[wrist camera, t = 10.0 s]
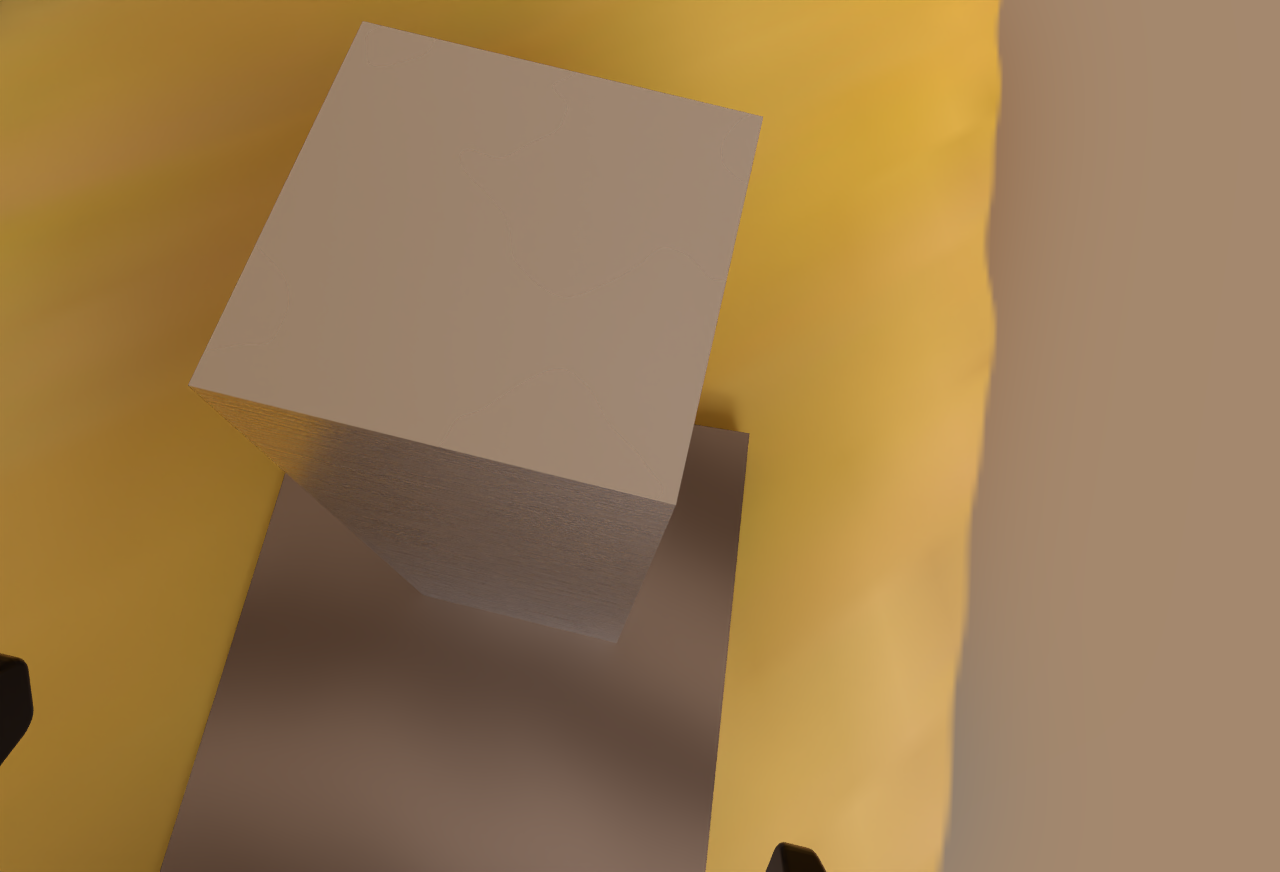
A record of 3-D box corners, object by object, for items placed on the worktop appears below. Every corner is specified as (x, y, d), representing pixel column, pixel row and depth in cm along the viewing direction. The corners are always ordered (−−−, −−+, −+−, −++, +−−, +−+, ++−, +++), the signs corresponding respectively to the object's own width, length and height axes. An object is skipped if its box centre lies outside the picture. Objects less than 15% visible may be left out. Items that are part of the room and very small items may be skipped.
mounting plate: (671, 1120, 18) (677, 1145, 17) (130, 1041, 18) (99, 1063, 16) (741, 447, 23) (749, 433, 22) (331, 382, 23) (319, 364, 22)
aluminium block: (616, 643, 20) (675, 504, 8) (423, 595, 20) (188, 385, 8) (660, 459, 22) (763, 116, 10) (481, 415, 22) (362, 21, 10)
